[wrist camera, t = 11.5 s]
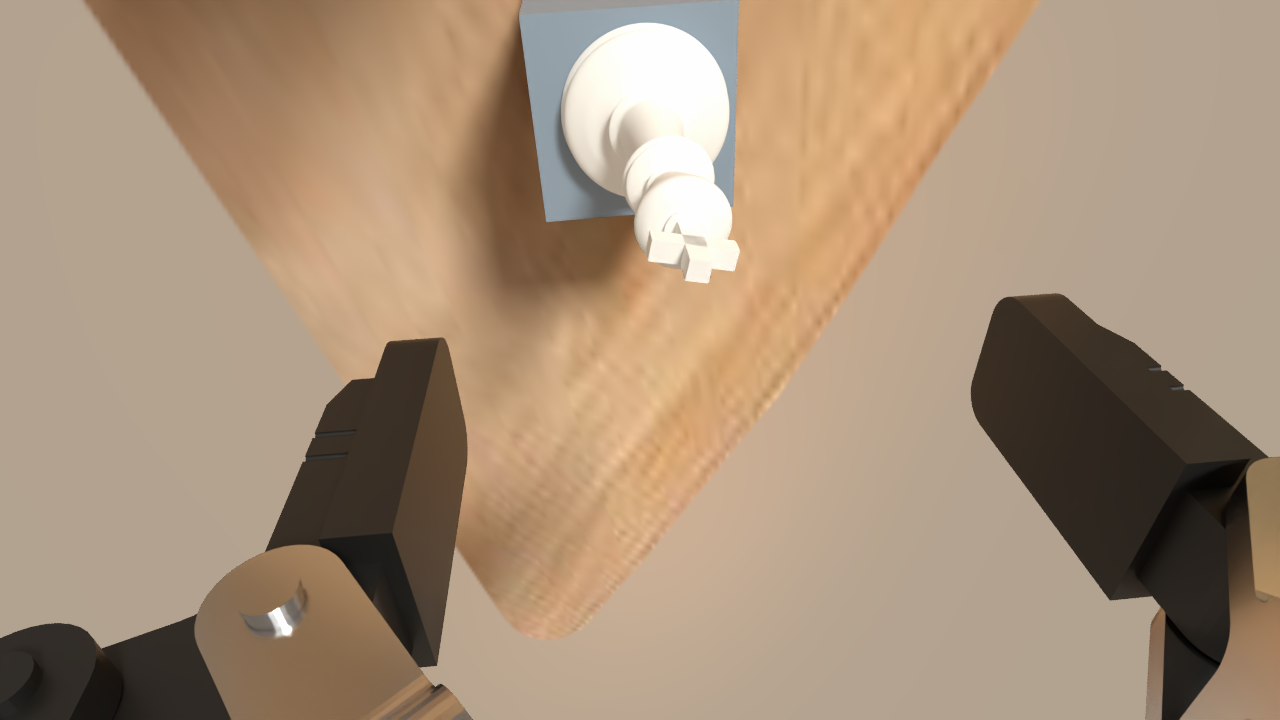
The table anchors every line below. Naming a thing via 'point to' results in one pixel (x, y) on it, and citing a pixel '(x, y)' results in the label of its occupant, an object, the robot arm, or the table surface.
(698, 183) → the chess piece
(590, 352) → the table surface
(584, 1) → the slate-blue block
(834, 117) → the table surface
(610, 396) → the table surface
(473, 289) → the table surface
